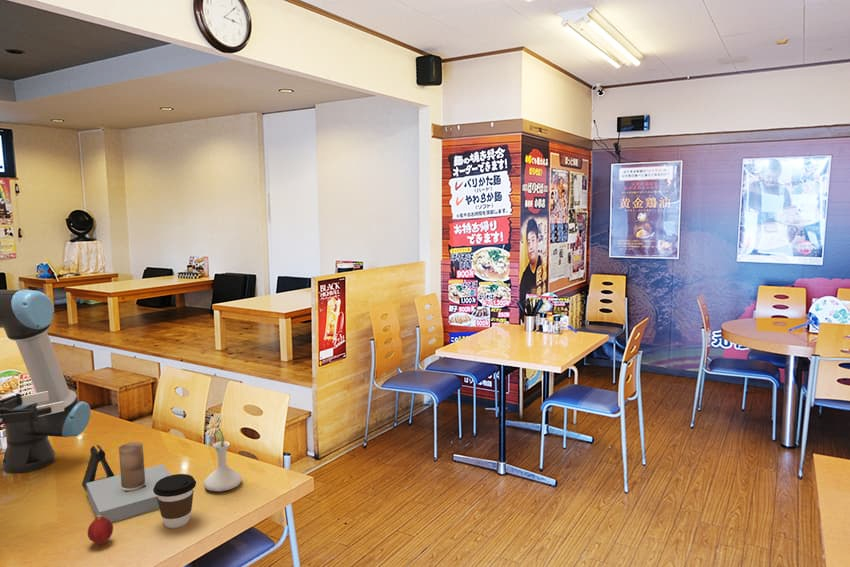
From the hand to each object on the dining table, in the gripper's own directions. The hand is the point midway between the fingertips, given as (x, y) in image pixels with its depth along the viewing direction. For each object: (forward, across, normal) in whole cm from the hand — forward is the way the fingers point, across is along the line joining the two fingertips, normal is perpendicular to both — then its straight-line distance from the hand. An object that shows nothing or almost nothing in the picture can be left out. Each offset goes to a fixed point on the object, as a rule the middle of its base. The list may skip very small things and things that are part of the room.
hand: (55, 400), depth 170 cm
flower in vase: (+37, +25, -32) cm, 55 cm away
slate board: (+15, +12, -32) cm, 37 cm away
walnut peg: (+15, +12, -31) cm, 37 cm away
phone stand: (+12, -6, -32) cm, 35 cm away
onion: (0, +30, -32) cm, 44 cm away
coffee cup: (+18, +35, -32) cm, 50 cm away
